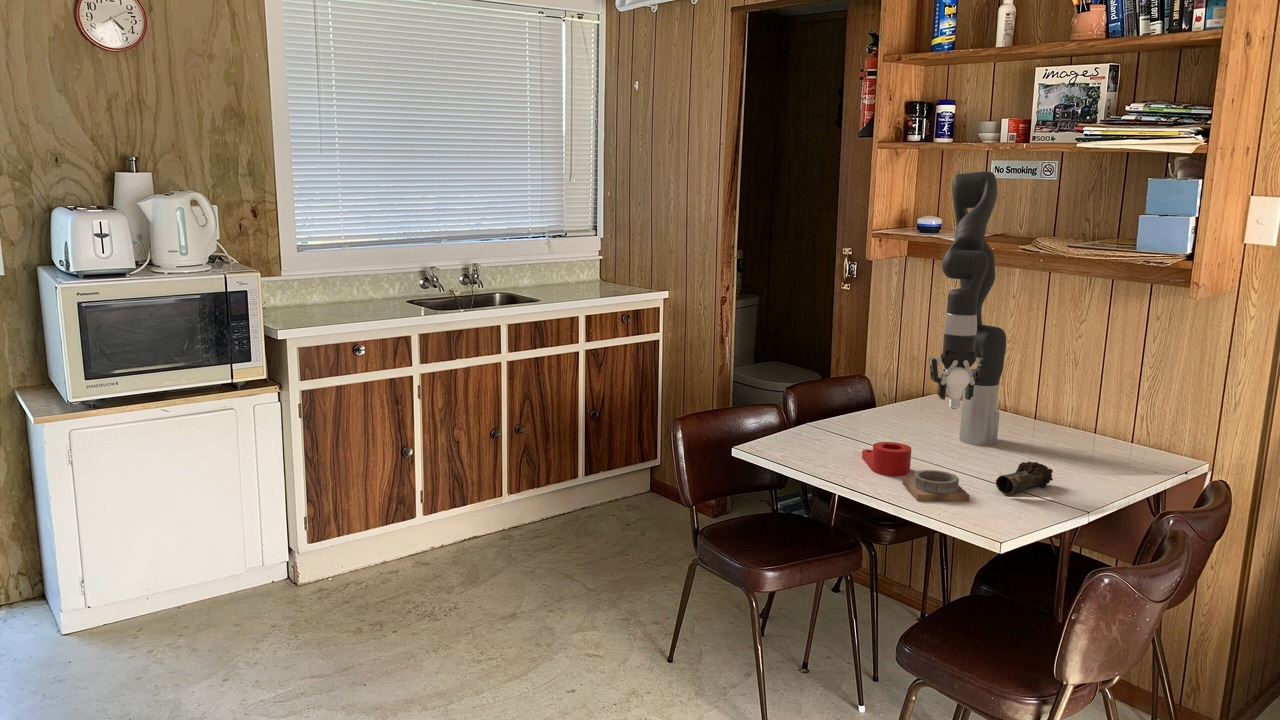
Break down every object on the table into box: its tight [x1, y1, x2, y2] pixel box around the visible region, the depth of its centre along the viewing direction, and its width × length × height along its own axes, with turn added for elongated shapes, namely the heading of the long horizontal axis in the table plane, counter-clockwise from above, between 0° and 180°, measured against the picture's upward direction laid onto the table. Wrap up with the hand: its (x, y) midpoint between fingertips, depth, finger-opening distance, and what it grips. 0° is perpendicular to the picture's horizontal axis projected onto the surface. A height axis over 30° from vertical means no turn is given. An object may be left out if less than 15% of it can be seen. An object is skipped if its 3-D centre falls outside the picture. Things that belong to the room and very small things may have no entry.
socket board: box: [901, 469, 970, 502], centre depth 228 cm, size 12×12×4 cm
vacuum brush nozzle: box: [995, 461, 1054, 496], centre depth 231 cm, size 18×7×6 cm, turn 125°
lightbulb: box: [943, 367, 970, 410], centre depth 239 cm, size 6×6×11 cm
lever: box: [861, 441, 912, 477], centre depth 248 cm, size 18×9×7 cm, turn 15°
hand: (954, 398), depth 239 cm, fingers closed on lightbulb, 5 cm apart
